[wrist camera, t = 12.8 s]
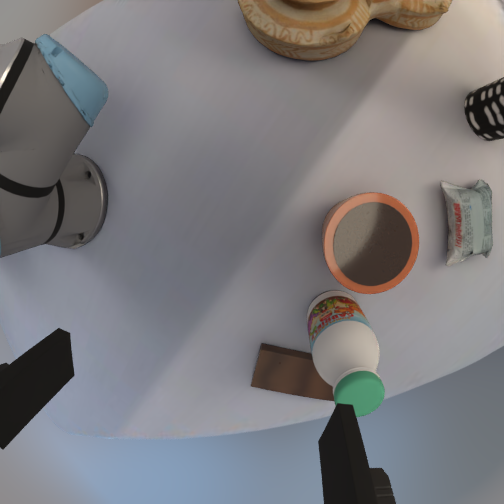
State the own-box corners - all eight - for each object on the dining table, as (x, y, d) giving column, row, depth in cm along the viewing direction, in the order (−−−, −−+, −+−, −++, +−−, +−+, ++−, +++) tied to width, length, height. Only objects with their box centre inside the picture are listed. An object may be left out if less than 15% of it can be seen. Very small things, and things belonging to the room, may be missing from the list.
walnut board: (252, 379, 46) (250, 386, 44) (261, 343, 45) (260, 349, 43) (335, 394, 45) (336, 401, 43) (349, 360, 44) (351, 366, 42)
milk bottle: (369, 310, 42) (417, 390, 23) (332, 347, 44) (355, 440, 24) (332, 278, 42) (365, 347, 22) (295, 317, 43) (299, 406, 24)
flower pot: (307, 263, 42) (312, 283, 33) (326, 182, 39) (337, 180, 30) (381, 280, 41) (403, 302, 32) (401, 203, 39) (429, 208, 30)
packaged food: (438, 261, 39) (454, 269, 35) (434, 180, 37) (451, 180, 32) (481, 254, 38) (498, 261, 34) (478, 178, 36) (496, 178, 31)
